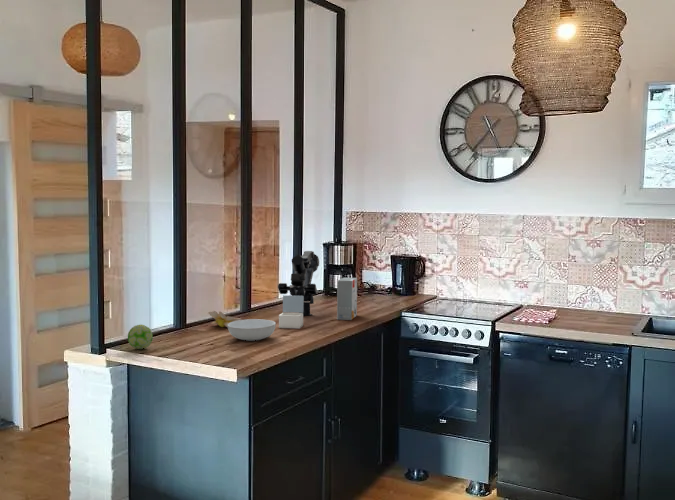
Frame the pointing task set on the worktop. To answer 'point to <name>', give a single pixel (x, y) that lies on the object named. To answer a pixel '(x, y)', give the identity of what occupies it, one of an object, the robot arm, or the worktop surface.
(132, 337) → the decorative ball
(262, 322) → the serving bowl
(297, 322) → the keepsake box
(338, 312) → the hard drive box
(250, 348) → the worktop surface
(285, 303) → the lid
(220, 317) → the decorative flower
